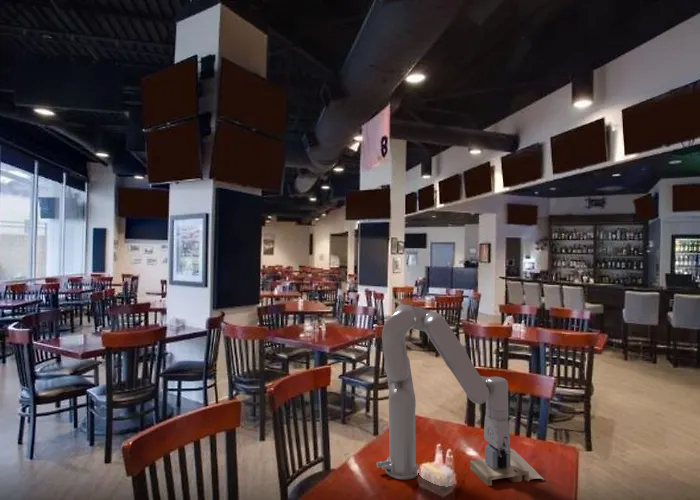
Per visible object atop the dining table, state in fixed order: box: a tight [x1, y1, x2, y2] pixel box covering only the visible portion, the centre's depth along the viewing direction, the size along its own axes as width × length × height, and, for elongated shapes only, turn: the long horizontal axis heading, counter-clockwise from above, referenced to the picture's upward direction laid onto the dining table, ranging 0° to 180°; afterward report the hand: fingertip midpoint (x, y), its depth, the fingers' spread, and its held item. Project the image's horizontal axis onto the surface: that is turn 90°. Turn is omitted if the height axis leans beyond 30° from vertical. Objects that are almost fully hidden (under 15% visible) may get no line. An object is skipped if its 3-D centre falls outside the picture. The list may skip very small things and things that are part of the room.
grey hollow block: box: [484, 444, 510, 469], centre depth 160 cm, size 7×5×6 cm
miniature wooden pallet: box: [469, 457, 529, 487], centre depth 160 cm, size 16×12×3 cm
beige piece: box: [510, 448, 546, 482], centre depth 167 cm, size 24×7×2 cm, turn 5°
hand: (497, 462), depth 160 cm, fingers closed on grey hollow block, 5 cm apart
